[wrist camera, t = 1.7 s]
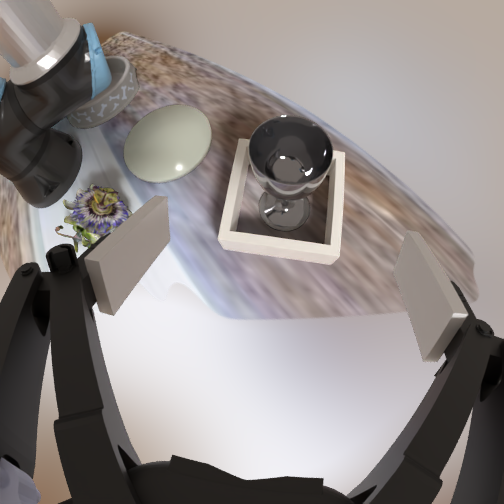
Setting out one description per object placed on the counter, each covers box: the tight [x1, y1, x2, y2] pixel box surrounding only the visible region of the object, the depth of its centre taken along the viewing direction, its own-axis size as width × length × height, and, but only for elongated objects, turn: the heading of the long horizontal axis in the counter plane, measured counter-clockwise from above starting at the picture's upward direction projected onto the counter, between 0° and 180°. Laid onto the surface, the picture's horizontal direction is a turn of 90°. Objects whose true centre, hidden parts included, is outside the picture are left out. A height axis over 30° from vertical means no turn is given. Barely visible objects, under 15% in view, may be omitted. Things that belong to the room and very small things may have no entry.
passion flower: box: [55, 184, 132, 252], centre depth 38 cm, size 11×11×12 cm
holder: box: [218, 138, 345, 265], centre depth 38 cm, size 14×14×5 cm
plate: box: [123, 105, 212, 183], centre depth 44 cm, size 15×15×1 cm
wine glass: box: [249, 115, 333, 231], centre depth 33 cm, size 8×8×15 cm
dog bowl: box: [67, 56, 140, 129], centre depth 47 cm, size 17×18×5 cm
